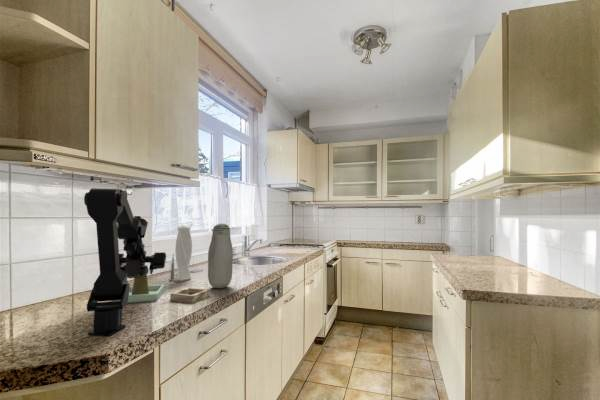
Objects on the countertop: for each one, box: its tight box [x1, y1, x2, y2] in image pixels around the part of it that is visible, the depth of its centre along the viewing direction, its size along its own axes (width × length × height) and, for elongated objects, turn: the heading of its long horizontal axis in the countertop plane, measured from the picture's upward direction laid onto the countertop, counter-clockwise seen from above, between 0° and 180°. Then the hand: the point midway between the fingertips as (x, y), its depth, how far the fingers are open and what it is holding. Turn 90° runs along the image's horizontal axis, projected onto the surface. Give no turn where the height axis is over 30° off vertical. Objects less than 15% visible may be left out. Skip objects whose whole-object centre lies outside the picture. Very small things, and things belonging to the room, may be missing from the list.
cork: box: [132, 268, 150, 295], centre depth 114 cm, size 6×6×11 cm
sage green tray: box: [110, 284, 166, 304], centre depth 114 cm, size 15×15×2 cm
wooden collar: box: [169, 287, 210, 304], centre depth 113 cm, size 10×10×2 cm
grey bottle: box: [207, 223, 234, 289], centre depth 130 cm, size 10×10×28 cm
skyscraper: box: [169, 221, 193, 283], centre depth 145 cm, size 8×8×28 cm
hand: (141, 273), depth 116 cm, fingers open, 7 cm apart
